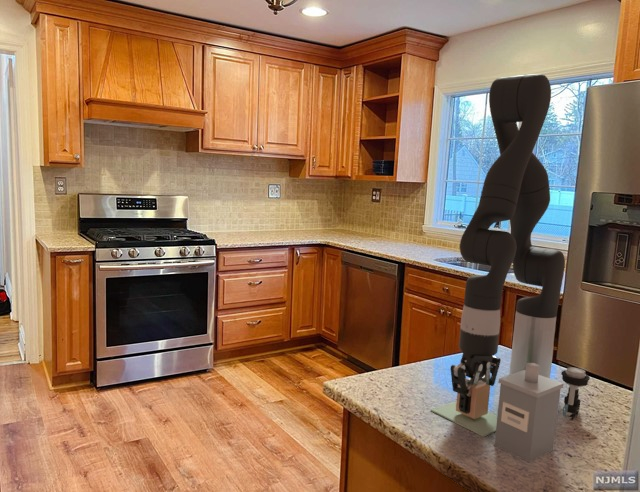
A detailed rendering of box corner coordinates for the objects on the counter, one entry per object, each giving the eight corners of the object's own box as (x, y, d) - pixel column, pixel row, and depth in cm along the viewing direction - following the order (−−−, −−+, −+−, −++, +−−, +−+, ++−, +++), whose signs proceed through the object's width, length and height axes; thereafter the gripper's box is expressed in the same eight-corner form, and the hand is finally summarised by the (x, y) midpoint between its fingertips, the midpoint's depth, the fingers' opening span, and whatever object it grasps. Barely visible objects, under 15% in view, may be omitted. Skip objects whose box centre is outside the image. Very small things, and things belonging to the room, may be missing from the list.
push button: (580, 426, 106) (586, 378, 105) (552, 417, 109) (558, 372, 108) (586, 415, 111) (592, 370, 110) (559, 407, 114) (565, 363, 113)
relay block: (469, 405, 110) (472, 371, 109) (487, 413, 106) (491, 378, 106) (455, 410, 107) (458, 375, 106) (474, 418, 104) (477, 382, 103)
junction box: (518, 433, 101) (526, 354, 99) (555, 450, 95) (565, 367, 93) (491, 445, 96) (500, 362, 94) (529, 464, 90) (539, 376, 88)
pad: (460, 400, 115) (460, 399, 115) (513, 424, 105) (513, 422, 105) (430, 410, 109) (430, 409, 109) (483, 436, 99) (483, 435, 99)
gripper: (473, 338, 97) (465, 425, 100) (516, 328, 106) (508, 408, 108) (442, 328, 103) (434, 410, 105) (485, 319, 112) (477, 395, 114)
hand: (471, 408), depth 107 cm, fingers closed on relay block, 4 cm apart
